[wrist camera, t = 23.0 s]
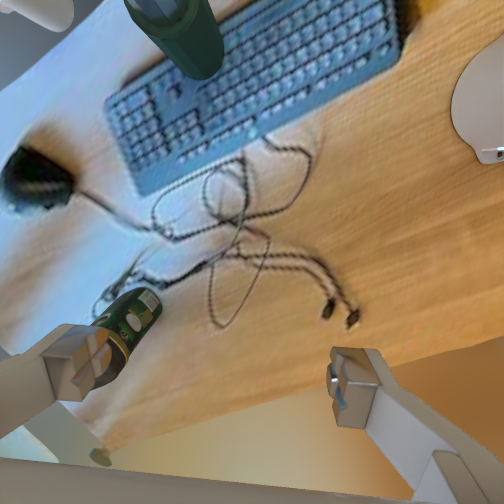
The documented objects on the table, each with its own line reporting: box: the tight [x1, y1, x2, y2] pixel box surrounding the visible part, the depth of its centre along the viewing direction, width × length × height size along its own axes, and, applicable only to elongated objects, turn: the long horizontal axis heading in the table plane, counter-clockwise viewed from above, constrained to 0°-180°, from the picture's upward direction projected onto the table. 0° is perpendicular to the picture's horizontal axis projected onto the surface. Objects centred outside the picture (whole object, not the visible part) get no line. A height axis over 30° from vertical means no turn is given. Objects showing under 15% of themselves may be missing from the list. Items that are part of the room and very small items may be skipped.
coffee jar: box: [90, 288, 162, 391], centre depth 44 cm, size 10×8×19 cm
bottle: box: [124, 0, 224, 80], centre depth 29 cm, size 8×8×18 cm
